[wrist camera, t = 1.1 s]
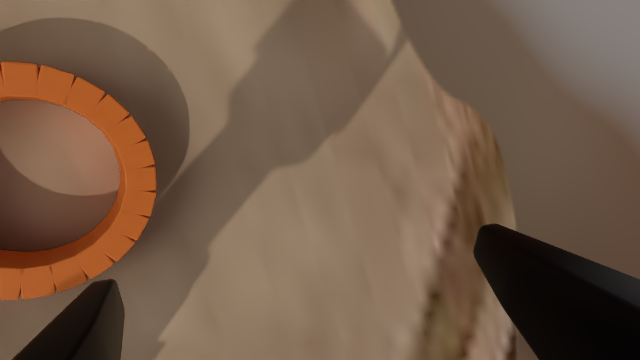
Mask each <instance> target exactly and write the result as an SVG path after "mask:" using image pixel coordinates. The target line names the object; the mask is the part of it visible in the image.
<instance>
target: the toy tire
mask: <svg viewBox="0 0 640 360" xmlns="http://www.w3.org/2000/svg"><path fill="white" fill-rule="evenodd" d="M104 94H105V91H104V90H102V89H100V88H99V87H97V86H95V85H93V84H92V83H90V82H88V81H86V80H84V79H83V78H81V77H77V78H76V80H75V75H74V74H71V73H68V72H65V71H62V70H58V69H55V68H52V67H48V66H45V65H41V68H39V66H38V65H37V64H34V63H23V62H11V61H2V62H1V64H0V102H2V101H8V100H14V99H22V100H42V101H45V102H49V103H53V104H57V105H61V106H64V107H67V108H69V109H71V110H72V111H74V112H76V113H78V114H80V115H82V116H84V117H86V118H87V119H88V120H89V121H91V122H92V123H93V124H94V125H95V126H96V127H98V128H99V129H100V130H101V131H102V132H103V133H104V135H105V136H106V138H107V139H108V141H109V142H110V143H111V145H112V146H113V148H114V151H115V154H116V157H117V159H118V162H119V165H120V186H119V190H118V194H117V198H116V201H115V203H114V204H113V206H112V208H111V210H110V211H109V213H108V215H107V216H106V217H105V218H104V219H103V220H102V221H101V222H100V223H99V224H98V225H97V226H96V227H95V228H94V229H93V230H92V231H91V232H89V233H88V234H86V235H84V236H83V237H81V238H80V239H78V240H76V241H75V242H72V243H69V244H66V245H63V246H60V247H57V248H54V249H48V250H40V251H32V252H21V251H9V250H1V249H0V299H9V300H17V299H19V296H20V293H21V296H22V299H29V298H34V297H40V296H46V295H52V294H55V291H56V288H57V291H58V292H62V291H65V290H67V289H70V288H72V287H75V286H78V285H80V284H83V283H85V282H87V281H88V279H87V276H88V277H89V278H90V279H93V278H94V277H96V276H97V275H99V274H100V273H102V272H103V271H105V270H106V269H108V268H109V267H111V266H112V265H114V261H113V260H115V261H119V260H120V259H121V258H122V257H123V256H124V255H125V253H126V252H127V251H128V250H129V249H130V248H131V247H132V246H133V245H134V244H135V241H134V239H135V240H138V239H139V237H140V235H141V233H142V232H143V230H144V228H145V226H146V225H147V223H148V221H149V218H148V216H151V214H152V210H153V206H154V202H155V198H156V192H155V191H154V190H156V189H157V180H156V167H155V166H153V165H154V164H155V160H154V157H153V154H152V151H151V148H150V145H149V142H148V140H145V138H146V136H145V134H144V133H143V131H142V130H141V128H140V127H139V125H138V124H137V122H136V121H135V119H134V118H133V116H128V115H129V112H128V111H127V110H126V109H125V108H124V107H123V106H122V105H121V104H120V103H118V102H117V101H116V100H115V99H114V98H113V97H112V96H111V95H109V94H107V95H106V96H105V97H103V96H104Z"/></svg>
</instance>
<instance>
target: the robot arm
mask: <svg viewBox="0 0 640 360" xmlns="http://www.w3.org/2000/svg"><path fill="white" fill-rule="evenodd" d="M474 257H475V260H476V261H477V263H478V265H479V267H480V268H481V270H482V272H483V274H484V276H485V277H486V279H487V281H488V283H489V284H490V286H491V288H492V290H493V292H494V293H495V295H496V297H497V299H498V300H499V302H500V304H501V305H502V307H503V308H504V310H505V311H506V313H507V315H508V316H509V317H510V319H511V320H512V322H513V323H514V325H515V326H516V327H517V329H518V330H519V332H520V333H521V335H522V336H523V337H524V339H525V340H526V342H527V343H528V345H529V346H530V348H531V349H532V350H533V352H534V353H535V355H536V356H537V358H538V359H539V360H640V279H637V278H635V277H632V276H630V275H627V274H625V273H622V272H619V271H617V270H614V269H612V268H609V267H606V266H604V265H601V264H599V263H596V262H594V261H591V260H588V259H586V258H583V257H581V256H578V255H576V254H573V253H571V252H568V251H565V250H563V249H560V248H558V247H555V246H553V245H550V244H547V243H545V242H542V241H540V240H537V239H534V238H532V237H529V236H527V235H524V234H522V233H519V232H517V231H514V230H511V229H509V228H506V227H504V226H501V225H499V224H488V225H483V226H481V227H480V229H479V231H478V235H477V238H476V242H475V246H474ZM124 317H125V313H124V306H123V302H122V299H121V295H120V292H119V288H118V285H117V283H116V281H115V280H113V279H108V280H101V281H95V282H93V283H91V284H90V285H89V286H88V287H87V288H86V289H85V290H84V291H83V292H82V293H81V294H80V295H79V296H78V297H77V298H76V299H75V300H73V301H72V302H71V303H70V304H69V305H68V306H67V307H66V308H65V309H64V310H63V311H62V312H61V313H60V314H59V315H58V316H57V317H56V318H55V319H54V320H53V321H52V322H51V323H49V324H48V325H47V326H46V327H45V328H44V329H43V330H42V331H41V332H40V333H39V334H38V335H37V336H36V337H35V338H34V339H33V340H32V341H31V342H30V343H29V344H28V345H27V346H25V347H24V348H23V349H22V350H21V351H20V352H19V353H18V354H17V355H16V356H15V357H14V358H13V359H12V360H120V358H121V348H122V338H123V328H124Z"/></svg>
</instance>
